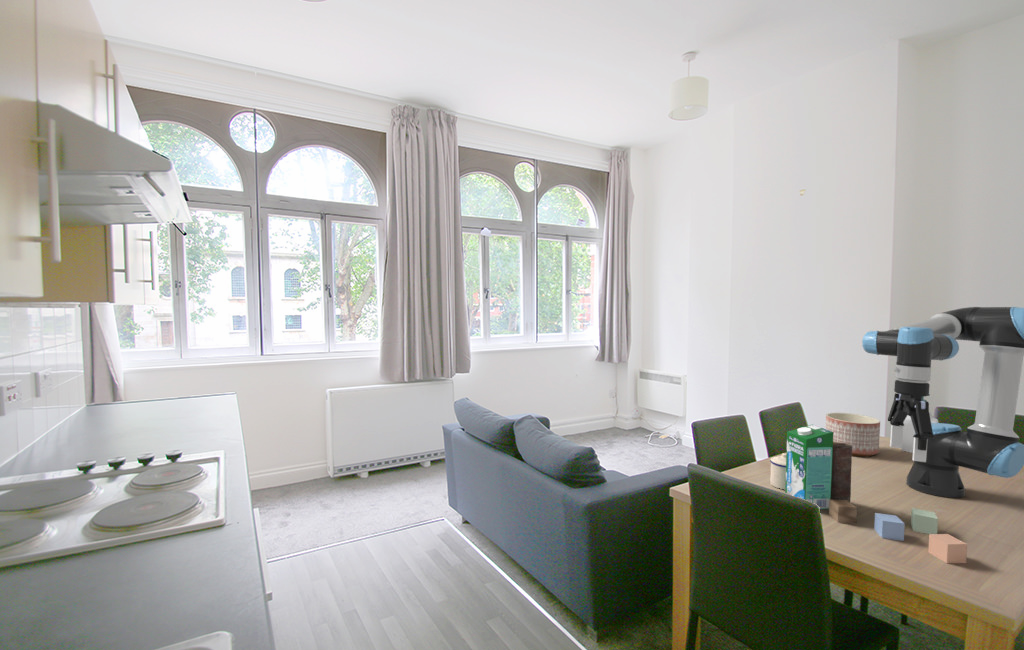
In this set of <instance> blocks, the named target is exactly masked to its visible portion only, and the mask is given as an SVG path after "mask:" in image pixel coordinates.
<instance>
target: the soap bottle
mask: <svg viewBox="0 0 1024 650" xmlns="http://www.w3.org/2000/svg"><path fill="white" fill-rule="evenodd" d="M924 397H925V396H923V397H922V401H925V402H928V401H927V399H924ZM927 397H930V393H929V395H928V396H927ZM929 414H930V420H931V423H939V419H937V418H935V416H933V415H932V413H930V412H929ZM903 423H904V426H902V427H903V440H902V448H901V451H902V452H905V451H906V453H910V454H911V453H912V454H913V445H914V437H913V436H914V435H915V430H914V427H913V423H912V420H911V417H910V416H909V415H907V417H906V419H905V420H904V422H903Z"/></svg>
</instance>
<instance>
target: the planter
mask: <svg viewBox="0 0 1024 650" xmlns="http://www.w3.org/2000/svg"><path fill="white" fill-rule="evenodd" d="M825 429H826V430H829V431H832V432H833V442H838V443H846V444H851V445H852V457H853V456H854V457H871V456H873V455H877V454H879V453H880V434H881V420H880V419H878V418H875V417H873V416H868V415H864V414H863V415H862V414H858V413H851V412H850V413H849V412H828V413H826V415H825Z"/></svg>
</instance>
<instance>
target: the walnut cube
mask: <svg viewBox="0 0 1024 650" xmlns="http://www.w3.org/2000/svg"><path fill="white" fill-rule="evenodd" d="M857 512H858V507H857V506H855V505H854V504H853V503H852V502H851V501H850V502H849V501H848V500H834V499H830V500H829V509H828V515H829V517H831V518H832V519H833V520H834V521H835V522H837V523H838V524H839V523H843V524H856V525H857Z"/></svg>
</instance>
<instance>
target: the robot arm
mask: <svg viewBox="0 0 1024 650" xmlns="http://www.w3.org/2000/svg"><path fill="white" fill-rule="evenodd" d="M958 341H968V342H969V341H971V342H979V346H978V347H979V348H980V349H981V350H983V351H984V355H983V362H982V363H983V364H982V370H981V376H980V384H979V390H978V391H979V392H978V398H977V405H976V412H975V413H976V414H975V419H974V423H973V424H972V425H969V426H967V428H966V429H967V430H966V432H965V431H962V430H963V429H962V427H961V426H960V425H957V424H952V423H943V422H938V423H931V420H930V414H931V413H930V407H929V405H930V403H929V401H927V402H925V401H922V397H923V396H924V397H929V396H928V395H929V394H930V384H929V382H930V381H931V373H932V361H945V360H946V361H947V360H950V359H952V358H954V357H955V356H956V355H957V354H958V353H959V351H960V345H959V343H958ZM861 344H862V348H863V350H864V351H865V352H866V353H867V354H871V355H877V356H879V355H881V356H888V357H889V356H891V357H892V356H893V357H896V362H895V363H896V365H895V367H896V368H895V367H894V372H895V378H896V379H895V380H894V389H893V390H894V396H893V402H892V405H891V408H890V411H889V413H888V417H887V421H888V422H890V423H889V424H890V438H889V439H890V441H889V447H890V448H894V449H895V448H897V449H902V440H903V426H904V423H903V422H904V420H905V419H906V417H907V415H909V416H910V417H911V420H912V423H913V427H914V430H915V435H914V436H913V437H914V445H913V453H912V461H913V464H912V466H911V469H910V470H909V472H908V473H907V476H906V483H905V485H907V486H908V487H910V488H912V489H914V490H916V491H918V492H921V493H925V494H928V495H933V496H937V497H943V498H953V499H954V498H958V499H959V498H963V497H965V494H966V490H965V489H966V488H965V486H964V483H963V480H962V477H961V474H960V470H959V469H960V467H961V468H965V469H969V470H973V471H977V472H979V473H984V474H988V475H990V476H996V477H1001V478H1005V479H1006V478H1007V479H1008V478H1009V479H1010V478H1013V477H1015V476H1016V475H1018V474H1019V473H1020V472H1021V470H1022V469H1023V467H1024V444H1023V443H1021V442H1019V441H1020V436H1019V435H1018V434H1017V433H1016V432H1015V431H1014V425H1015V419H1016V409H1017V404H1018V397H1019V391H1020V384H1021V377H1022V376H1021V375H1022V369H1023V368H1022V367H1023V362H1024V307H1019V306H991V307H989V306H988V307H987V306H983V307H982V306H969V307H962V308H957V309H952V310H948V311H943V312H939V313H937V314H933V315H932V316H930V318H928V319H925V320H923V321H918V322H915V323H911V324H908V325H904V326H901V327H897V328H893V329H890V330H889V329H888V330H885V331H884V330H882V331H881V330H880V331H879V330H870V331H867V332H866V333H865V334H864V335H863V337H862V343H861ZM929 413H930V414H929Z"/></svg>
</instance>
